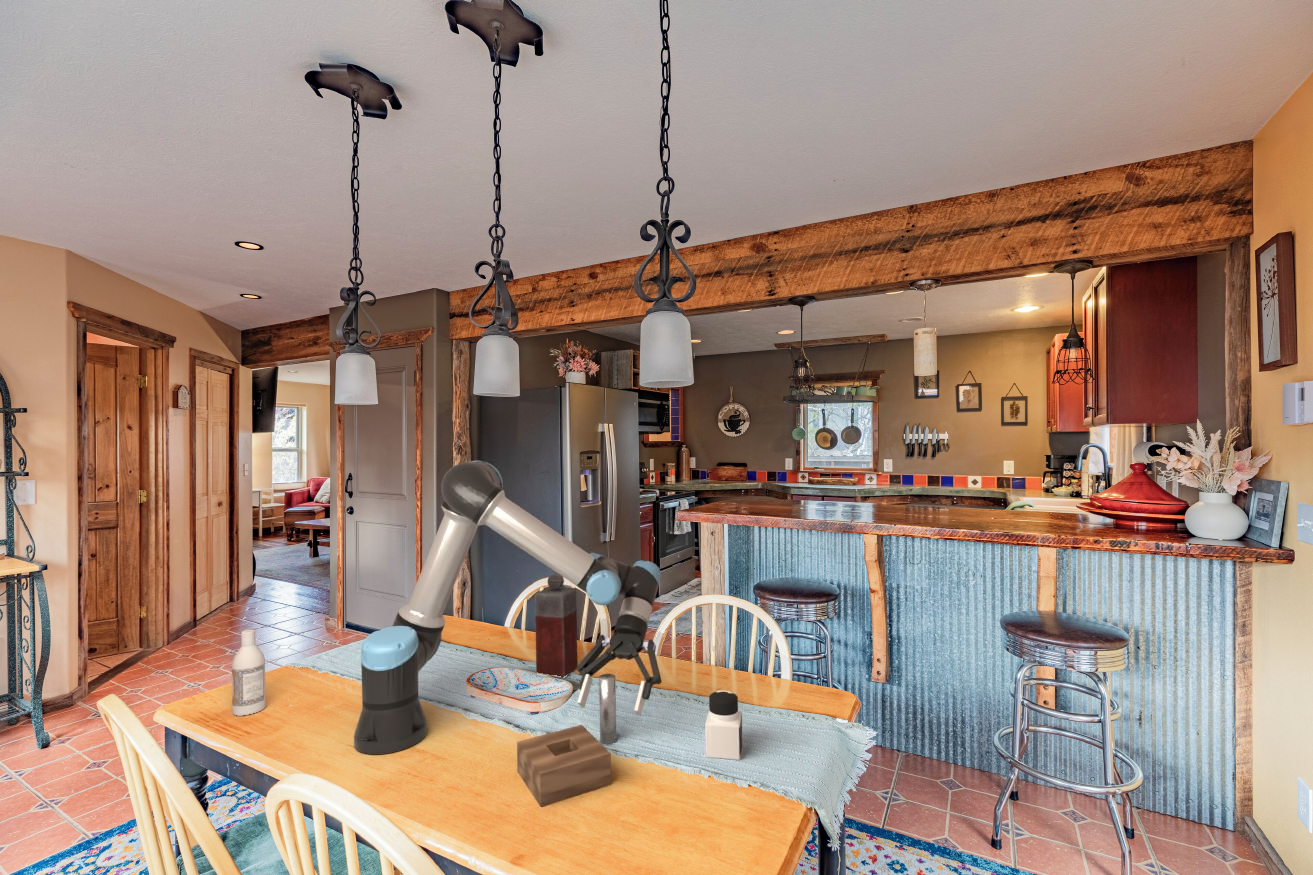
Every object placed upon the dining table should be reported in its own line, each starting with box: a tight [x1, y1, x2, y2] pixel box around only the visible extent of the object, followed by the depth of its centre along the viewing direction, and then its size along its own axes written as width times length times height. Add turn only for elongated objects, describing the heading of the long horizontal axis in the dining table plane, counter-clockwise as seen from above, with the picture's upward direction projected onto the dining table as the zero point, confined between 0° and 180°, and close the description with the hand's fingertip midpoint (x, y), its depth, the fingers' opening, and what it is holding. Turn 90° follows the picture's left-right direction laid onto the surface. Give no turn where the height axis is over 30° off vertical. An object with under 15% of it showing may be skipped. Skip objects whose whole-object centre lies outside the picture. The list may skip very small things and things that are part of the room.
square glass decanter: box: [534, 572, 579, 677], centre depth 178 cm, size 9×11×28 cm
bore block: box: [516, 724, 612, 808], centre depth 121 cm, size 14×14×6 cm
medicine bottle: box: [704, 690, 743, 761], centre depth 130 cm, size 7×7×12 cm
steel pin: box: [598, 673, 618, 745], centre depth 135 cm, size 4×4×14 cm
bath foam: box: [231, 628, 267, 717], centre depth 155 cm, size 7×7×20 cm
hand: (608, 709), depth 135 cm, fingers open, 13 cm apart
